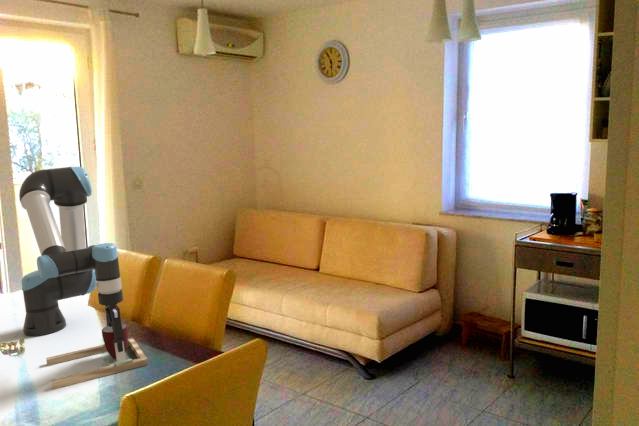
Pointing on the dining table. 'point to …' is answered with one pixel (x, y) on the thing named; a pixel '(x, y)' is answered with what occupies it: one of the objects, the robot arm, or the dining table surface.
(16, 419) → the dining table surface
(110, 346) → the mug
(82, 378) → the track
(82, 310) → the dining table surface
